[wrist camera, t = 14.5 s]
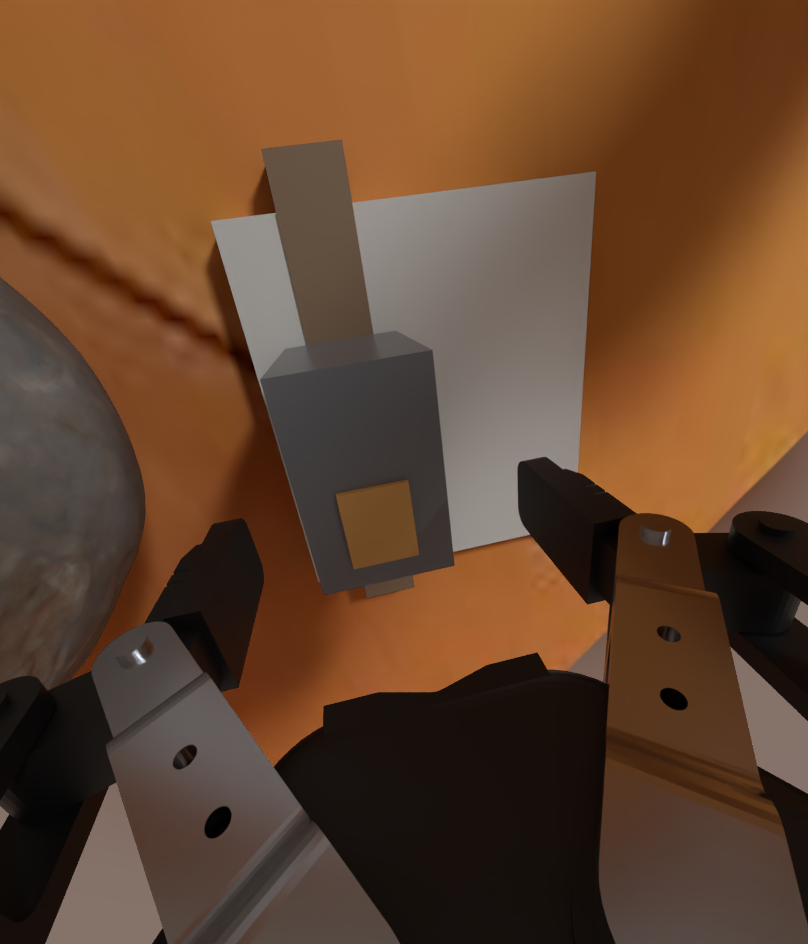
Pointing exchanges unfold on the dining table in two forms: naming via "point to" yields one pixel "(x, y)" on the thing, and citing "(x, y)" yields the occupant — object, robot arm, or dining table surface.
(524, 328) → the board
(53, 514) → the vase
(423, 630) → the dining table surface
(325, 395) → the block
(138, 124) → the dining table surface
